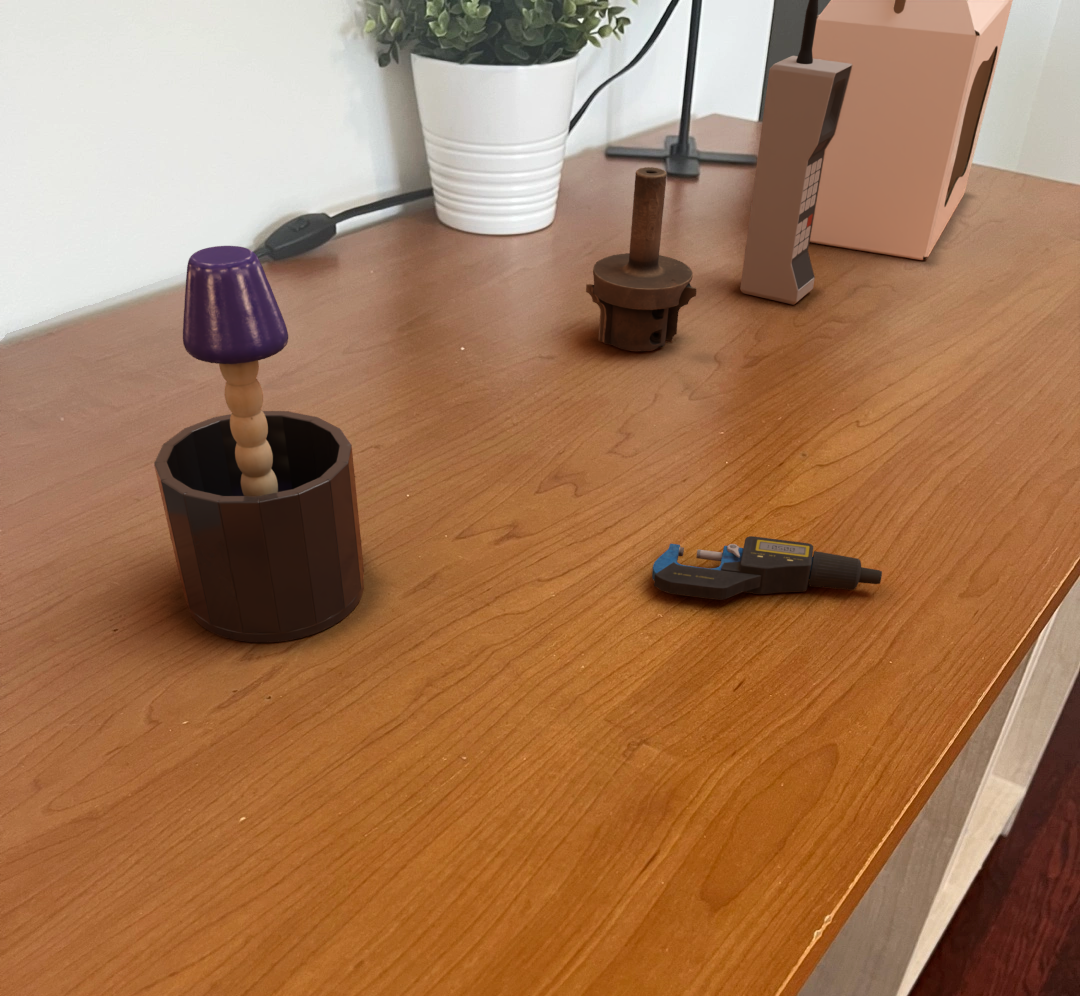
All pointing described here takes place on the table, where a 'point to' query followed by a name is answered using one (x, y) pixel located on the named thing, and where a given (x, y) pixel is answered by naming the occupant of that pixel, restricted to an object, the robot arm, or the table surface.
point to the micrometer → (759, 570)
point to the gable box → (903, 117)
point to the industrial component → (641, 277)
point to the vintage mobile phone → (791, 169)
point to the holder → (264, 529)
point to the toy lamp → (236, 346)
